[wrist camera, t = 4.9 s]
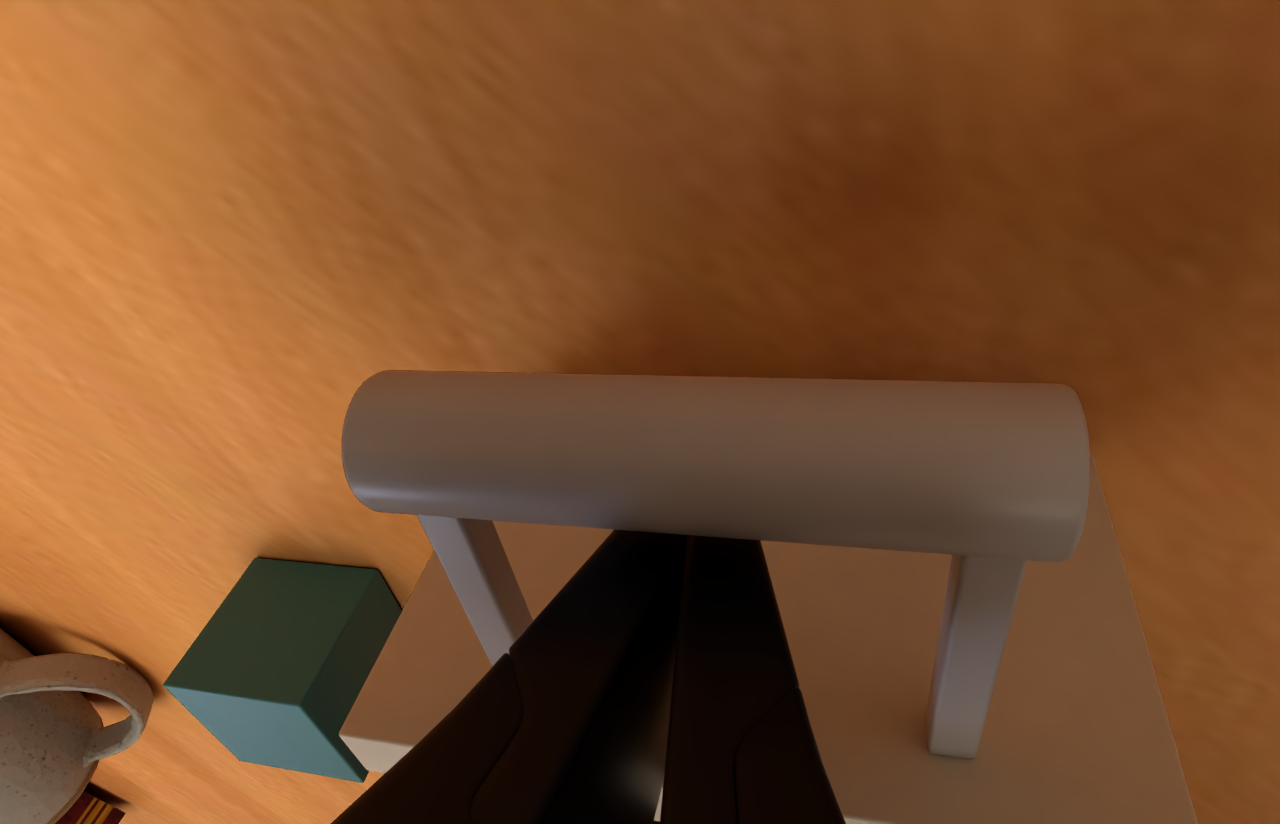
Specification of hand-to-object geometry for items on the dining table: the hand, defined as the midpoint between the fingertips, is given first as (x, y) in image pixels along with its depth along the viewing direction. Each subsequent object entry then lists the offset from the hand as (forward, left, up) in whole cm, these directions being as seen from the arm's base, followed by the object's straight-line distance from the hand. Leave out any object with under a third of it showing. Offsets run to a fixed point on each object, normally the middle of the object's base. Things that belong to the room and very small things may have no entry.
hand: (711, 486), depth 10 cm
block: (+14, +12, -5) cm, 19 cm away
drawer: (0, +7, -4) cm, 8 cm away
